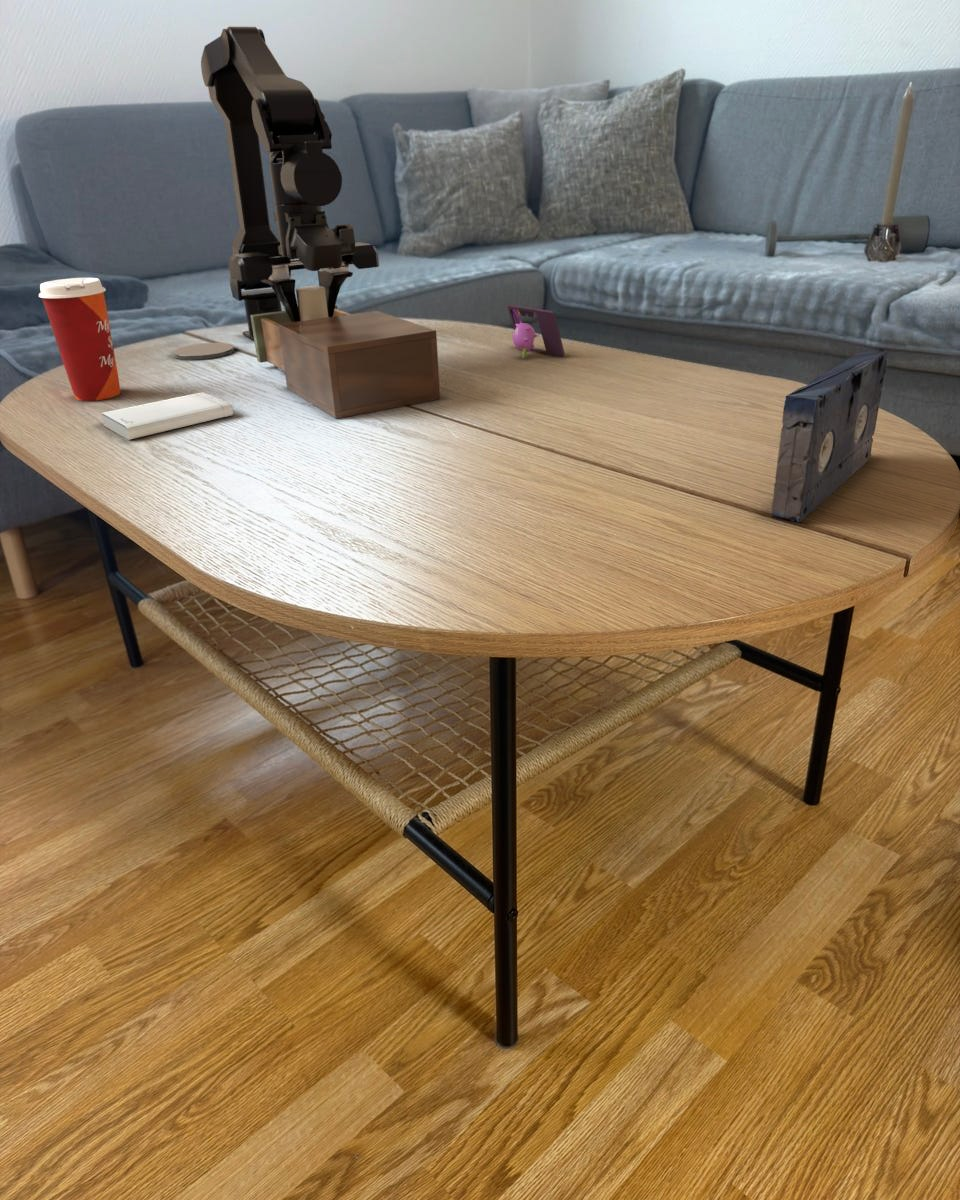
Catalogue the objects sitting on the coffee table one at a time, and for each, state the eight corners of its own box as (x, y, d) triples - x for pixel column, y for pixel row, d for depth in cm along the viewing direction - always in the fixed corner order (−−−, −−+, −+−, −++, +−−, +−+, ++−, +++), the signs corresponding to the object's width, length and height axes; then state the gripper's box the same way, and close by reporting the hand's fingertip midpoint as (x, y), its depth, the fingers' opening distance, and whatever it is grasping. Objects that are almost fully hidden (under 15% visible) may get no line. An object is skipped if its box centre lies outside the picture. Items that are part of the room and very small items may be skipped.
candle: (300, 356, 119) (291, 288, 115) (326, 352, 121) (318, 284, 116) (310, 362, 116) (301, 291, 112) (337, 357, 118) (329, 288, 113)
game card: (557, 308, 118) (512, 301, 124) (532, 327, 116) (487, 319, 122) (568, 353, 122) (524, 344, 128) (544, 372, 120) (500, 362, 126)
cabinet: (287, 388, 112) (277, 324, 108) (382, 372, 118) (377, 310, 114) (335, 418, 99) (327, 347, 95) (440, 398, 105) (436, 330, 101)
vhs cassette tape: (843, 454, 83) (861, 348, 78) (875, 459, 81) (896, 351, 76) (763, 516, 71) (778, 395, 66) (798, 524, 69) (817, 400, 64)
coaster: (167, 352, 134) (166, 348, 134) (225, 343, 138) (224, 340, 138) (181, 362, 127) (180, 358, 127) (241, 354, 131) (241, 349, 131)
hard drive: (126, 426, 94) (231, 402, 101) (99, 412, 100) (201, 389, 106) (130, 441, 95) (234, 416, 102) (103, 426, 100) (203, 403, 107)
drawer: (248, 356, 126) (241, 310, 123) (328, 343, 131) (323, 300, 128) (294, 383, 111) (288, 333, 108) (383, 368, 116) (379, 320, 113)
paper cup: (135, 396, 111) (108, 281, 105) (71, 406, 108) (40, 288, 101) (122, 384, 117) (96, 274, 111) (61, 393, 114) (31, 281, 107)
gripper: (244, 211, 100) (265, 349, 107) (391, 199, 108) (401, 329, 115) (217, 207, 108) (239, 335, 116) (356, 196, 116) (367, 317, 124)
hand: (313, 329), depth 117 cm, fingers closed on candle, 4 cm apart
